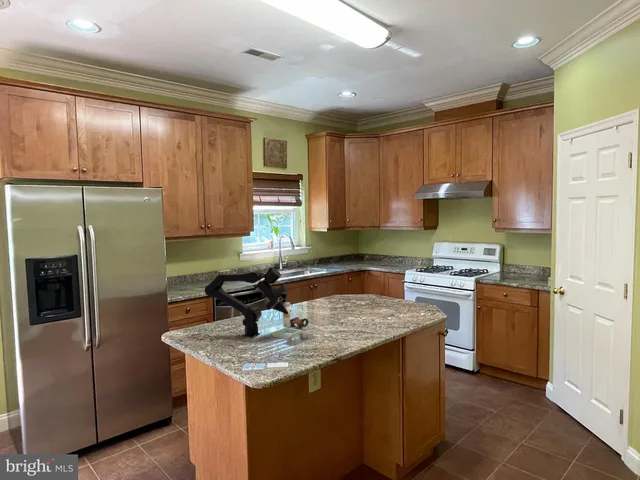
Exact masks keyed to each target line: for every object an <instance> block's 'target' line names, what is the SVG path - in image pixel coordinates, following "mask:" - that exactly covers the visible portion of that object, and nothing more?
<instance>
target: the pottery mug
mask: <svg viewBox="0 0 640 480" xmlns="http://www.w3.org/2000/svg"><path fill="white" fill-rule="evenodd" d="M304 322H305V324H304ZM290 324H291V327H290V328H294V327H296V325H297V329H298V330H302V327H308V325H309V319H308V318H307V317H306V318H305V317H304V318H301V319H300V317H299V316H295V317H293V318H290Z"/></svg>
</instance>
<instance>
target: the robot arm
mask: <svg viewBox="0 0 640 480" xmlns="http://www.w3.org/2000/svg"><path fill="white" fill-rule="evenodd" d="M281 277H282V273H281V272H280V271H279V270H277V269H276V268H274V267H272V266H271V267H269V268H268V270H267V271H266V272H265V273H264V272H261V271H260V270H252V271H248V272H245V273H243V272H241V273H239V272H238V273H237V272H236V273H220V274H217V276H216V277H215V278H214V279H213V280H212V281H211V282H210V283H209V284H208V285H206V286H205V287H204V294H205V295H206V296H208V297H210V298H212V299H218V300H219V301H221V302H223V303H225V304H226V305H228V306H230V307H232V308H233V309H235V310H236V311H238V312H240V313H241V314H242V316H243V317H244V319H243V320H242V325H243V326H244V334H242V336H244V337H247V336H248V338H254V337H256V336H258V335H259V336H260V335H261V333H260V332H259V326H258V323H257V322H259V321H260V320H259V319H261V318H262V315H263V314H262V310H261V309H260V307H258V306H256V305H255V304H253V303H252V304H250V305H247V304H246V303H244V302H242V301H241V300H239V299H238V298H236V297H234V296H232V295H231V294H229V293H227V292H226V291H225V290H224V289H223V285H224V283H225V282H245V283H249V284H254V285H253V291H257V290H259V291H260V292H261V293H262V295H264V296H263V298H264V299H266V298H267V300H268V302H267V303H266V304H265V308H266V310H267V311H270V310H275V311H277V312H280V313H282V314H283V313H285V314H288V311H287V310H286V308H285V307H284V306H283V303H284V302H287V299H288V296H290V294H289V293H288V291H289V288H288V287H289V286H288V285H287V284H285V283H281V284H280V287H275V286H274V287H273V286H272V285H275V283H277V281H278V280H279V279H280V278H281ZM256 283H257V284H256ZM291 312H292V310H291V309H290V313H291Z"/></svg>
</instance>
